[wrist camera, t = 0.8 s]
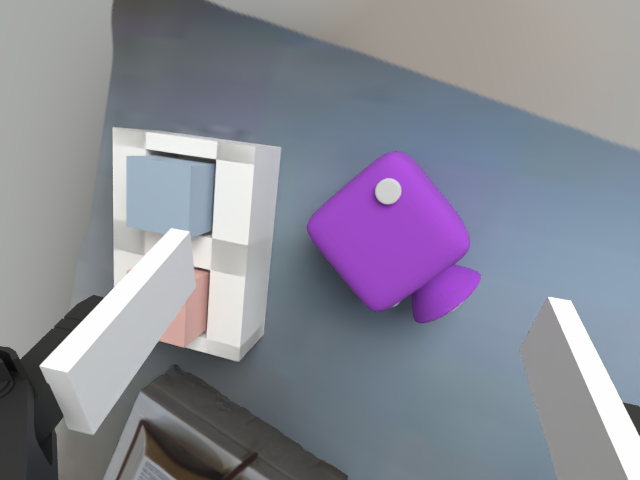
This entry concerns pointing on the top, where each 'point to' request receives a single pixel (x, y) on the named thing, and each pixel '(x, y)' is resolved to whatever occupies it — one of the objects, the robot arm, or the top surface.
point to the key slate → (169, 194)
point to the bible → (205, 439)
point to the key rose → (189, 314)
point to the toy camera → (396, 239)
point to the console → (213, 230)
